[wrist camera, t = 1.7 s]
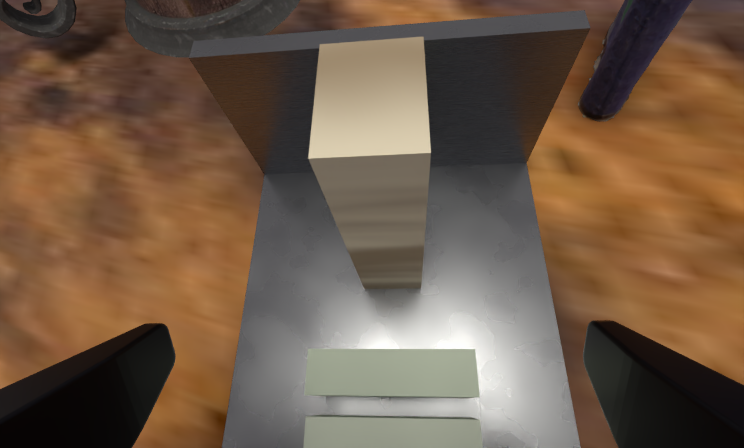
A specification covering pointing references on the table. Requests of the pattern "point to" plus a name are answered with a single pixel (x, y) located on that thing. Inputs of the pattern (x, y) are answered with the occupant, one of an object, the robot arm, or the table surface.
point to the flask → (628, 53)
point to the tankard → (163, 20)
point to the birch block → (375, 154)
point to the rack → (442, 233)
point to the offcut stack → (392, 379)
